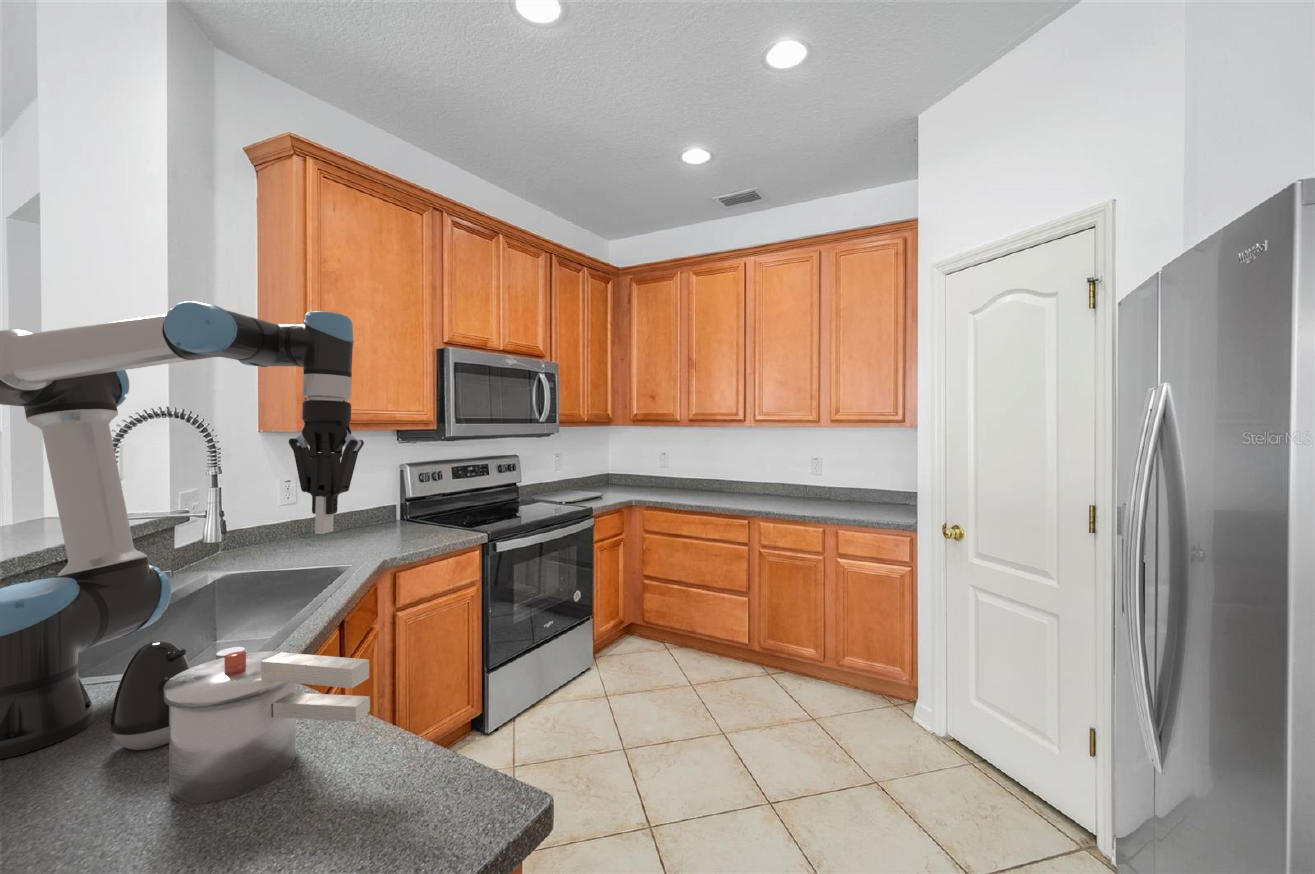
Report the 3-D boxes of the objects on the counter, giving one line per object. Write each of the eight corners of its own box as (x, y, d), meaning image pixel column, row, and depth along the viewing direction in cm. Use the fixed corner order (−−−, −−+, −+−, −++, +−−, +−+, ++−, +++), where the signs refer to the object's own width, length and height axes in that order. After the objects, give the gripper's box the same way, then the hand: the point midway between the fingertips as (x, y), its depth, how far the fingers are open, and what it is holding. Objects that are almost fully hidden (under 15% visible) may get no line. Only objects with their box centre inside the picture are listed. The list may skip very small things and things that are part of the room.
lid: (132, 702, 72) (132, 671, 72) (240, 657, 87) (240, 632, 87) (315, 722, 67) (315, 688, 67) (397, 671, 81) (397, 643, 81)
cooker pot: (139, 799, 72) (138, 706, 72) (233, 741, 86) (233, 662, 86) (327, 813, 69) (326, 715, 69) (393, 750, 83) (392, 669, 83)
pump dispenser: (147, 763, 80) (147, 656, 80) (91, 755, 82) (90, 651, 82) (217, 727, 90) (216, 632, 90) (165, 721, 92) (164, 628, 92)
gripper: (374, 402, 103) (371, 530, 103) (308, 401, 104) (305, 527, 104) (347, 399, 95) (344, 537, 95) (277, 398, 97) (273, 534, 97)
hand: (324, 532), depth 100 cm, fingers closed
